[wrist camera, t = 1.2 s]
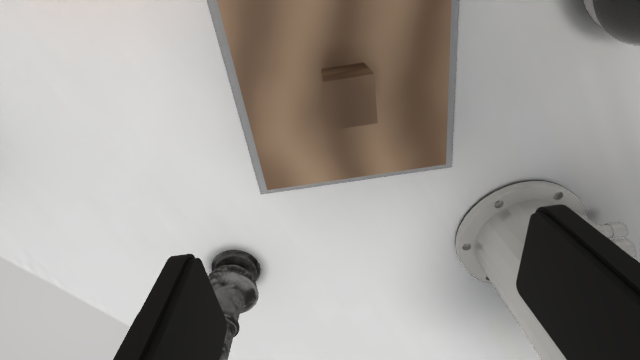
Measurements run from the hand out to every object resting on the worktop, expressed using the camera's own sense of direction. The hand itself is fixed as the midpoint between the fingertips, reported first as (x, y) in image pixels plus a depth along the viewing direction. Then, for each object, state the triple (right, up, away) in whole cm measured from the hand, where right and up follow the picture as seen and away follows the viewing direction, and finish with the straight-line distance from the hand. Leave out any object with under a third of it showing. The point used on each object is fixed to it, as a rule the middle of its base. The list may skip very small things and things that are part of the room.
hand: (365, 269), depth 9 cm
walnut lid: (+1, +10, +17) cm, 20 cm away
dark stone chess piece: (-11, -7, +26) cm, 29 cm away
